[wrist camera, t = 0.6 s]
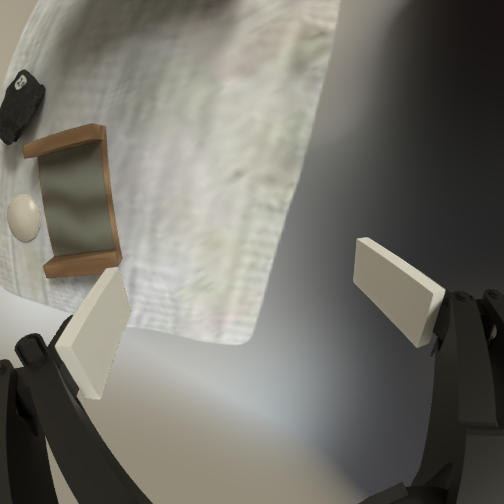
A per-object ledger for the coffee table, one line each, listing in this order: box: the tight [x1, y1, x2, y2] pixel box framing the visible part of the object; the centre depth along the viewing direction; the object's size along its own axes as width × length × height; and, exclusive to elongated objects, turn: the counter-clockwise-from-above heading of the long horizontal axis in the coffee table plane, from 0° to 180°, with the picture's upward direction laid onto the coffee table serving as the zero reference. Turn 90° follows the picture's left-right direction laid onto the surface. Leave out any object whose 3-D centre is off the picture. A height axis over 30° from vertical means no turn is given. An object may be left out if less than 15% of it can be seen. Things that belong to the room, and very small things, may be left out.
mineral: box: [0, 69, 45, 145], centre depth 25 cm, size 10×9×6 cm
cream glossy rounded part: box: [7, 194, 41, 241], centre depth 33 cm, size 8×8×1 cm
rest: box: [23, 124, 122, 278], centre depth 32 cm, size 20×12×5 cm, turn 3°
